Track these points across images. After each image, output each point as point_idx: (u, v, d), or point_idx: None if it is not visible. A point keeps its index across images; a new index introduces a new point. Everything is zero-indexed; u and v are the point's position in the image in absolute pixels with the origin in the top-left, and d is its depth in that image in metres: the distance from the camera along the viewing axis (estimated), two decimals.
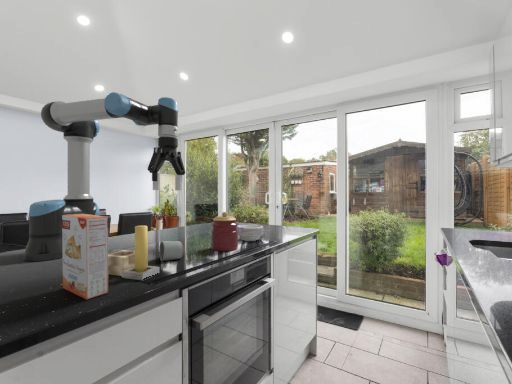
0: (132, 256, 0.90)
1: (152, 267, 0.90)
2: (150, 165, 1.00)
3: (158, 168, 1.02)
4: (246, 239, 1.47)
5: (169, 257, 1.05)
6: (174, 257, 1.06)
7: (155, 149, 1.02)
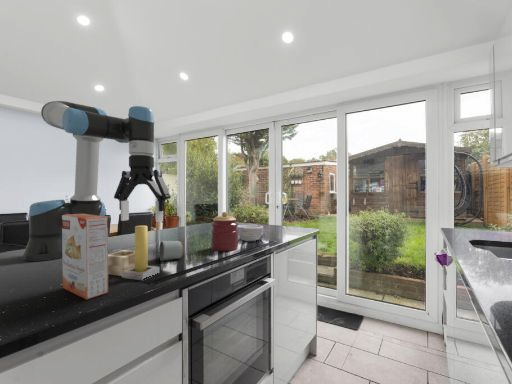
0: (132, 256, 0.90)
1: (152, 267, 0.90)
2: None
3: (121, 195, 0.88)
4: (246, 239, 1.47)
5: (169, 257, 1.05)
6: (174, 257, 1.06)
7: None
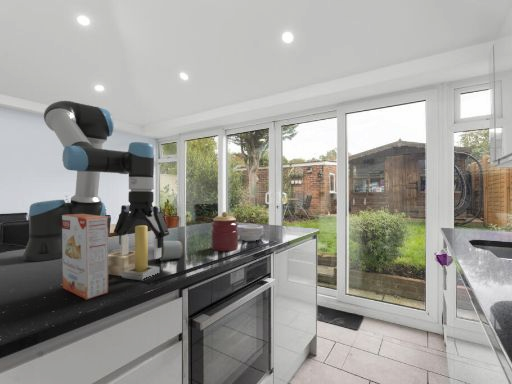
0: (132, 256, 0.90)
1: (152, 267, 0.90)
2: None
3: (121, 230, 0.88)
4: (246, 239, 1.47)
5: (169, 256, 1.05)
6: (173, 257, 1.07)
7: None
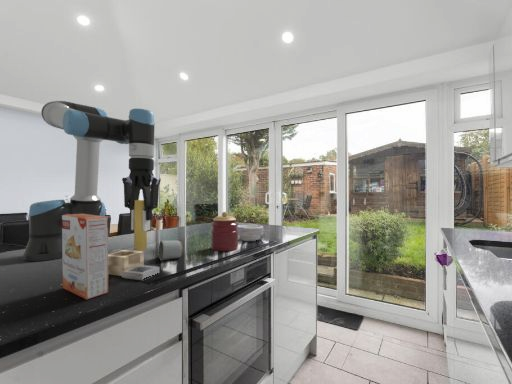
0: (132, 256, 0.90)
1: (152, 267, 0.90)
2: None
3: (130, 203, 0.87)
4: (246, 239, 1.47)
5: (169, 256, 1.06)
6: (173, 256, 1.07)
7: None
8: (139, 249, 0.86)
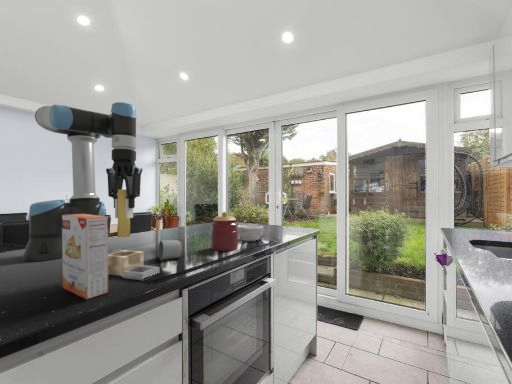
0: (132, 256, 0.90)
1: (152, 267, 0.90)
2: None
3: (114, 192, 0.92)
4: (246, 239, 1.47)
5: (168, 256, 1.06)
6: (173, 256, 1.07)
7: None
8: (122, 236, 0.90)
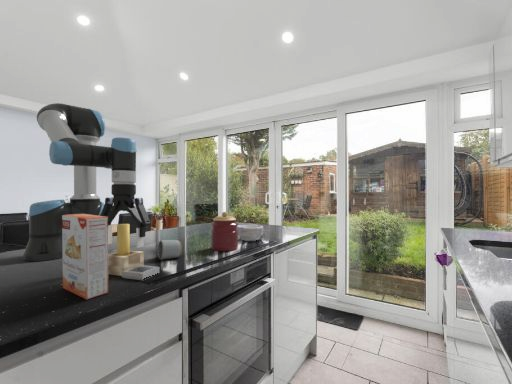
0: (132, 256, 0.90)
1: (152, 267, 0.90)
2: None
3: None
4: (246, 239, 1.47)
5: (168, 255, 1.07)
6: (172, 256, 1.08)
7: None
8: None
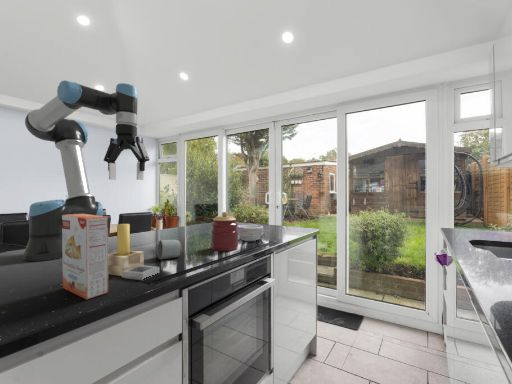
0: (132, 256, 0.90)
1: (152, 267, 0.90)
2: None
3: (109, 158, 1.06)
4: (246, 239, 1.47)
5: (168, 255, 1.07)
6: (172, 255, 1.09)
7: None
8: None
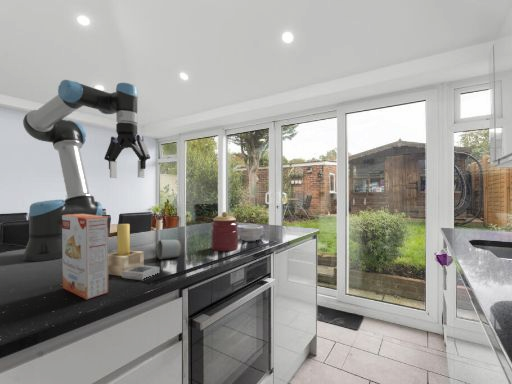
0: (132, 256, 0.90)
1: (152, 267, 0.90)
2: None
3: (110, 156, 1.07)
4: (246, 239, 1.47)
5: (167, 255, 1.07)
6: (172, 255, 1.09)
7: None
8: None
